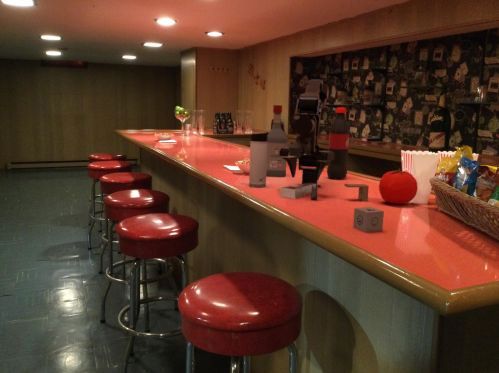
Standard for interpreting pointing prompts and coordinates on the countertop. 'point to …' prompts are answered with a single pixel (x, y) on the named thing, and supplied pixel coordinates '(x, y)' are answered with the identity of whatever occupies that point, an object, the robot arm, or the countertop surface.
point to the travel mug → (258, 160)
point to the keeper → (360, 191)
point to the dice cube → (368, 219)
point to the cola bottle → (338, 146)
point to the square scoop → (296, 190)
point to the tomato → (398, 187)
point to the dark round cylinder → (314, 192)
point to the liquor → (276, 146)
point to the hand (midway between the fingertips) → (304, 178)
